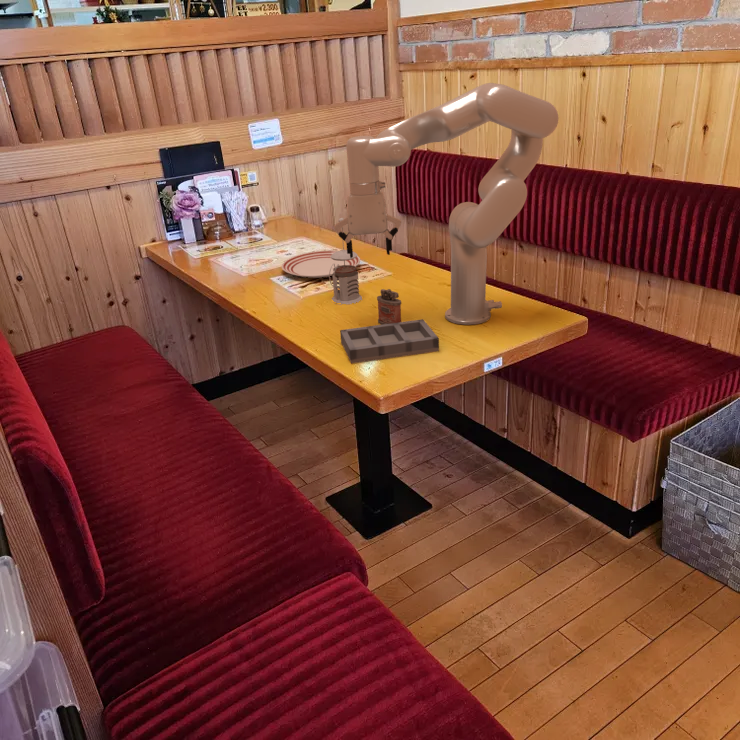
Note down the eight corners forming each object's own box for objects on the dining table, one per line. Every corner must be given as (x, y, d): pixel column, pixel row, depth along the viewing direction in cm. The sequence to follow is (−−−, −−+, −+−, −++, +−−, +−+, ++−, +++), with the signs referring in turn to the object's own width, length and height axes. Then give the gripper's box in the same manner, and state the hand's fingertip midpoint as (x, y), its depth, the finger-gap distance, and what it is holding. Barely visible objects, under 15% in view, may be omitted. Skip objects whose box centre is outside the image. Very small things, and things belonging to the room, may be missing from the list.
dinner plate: (325, 288, 217) (325, 278, 215) (265, 275, 232) (264, 266, 231) (376, 265, 236) (376, 256, 235) (318, 255, 251) (317, 246, 250)
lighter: (375, 322, 187) (373, 288, 183) (383, 319, 189) (382, 285, 185) (396, 329, 182) (395, 295, 177) (404, 326, 184) (403, 291, 180)
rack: (423, 331, 180) (423, 319, 178) (438, 351, 168) (438, 338, 167) (341, 342, 176) (340, 330, 174) (351, 363, 164) (350, 350, 163)
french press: (369, 296, 207) (364, 215, 196) (346, 308, 198) (341, 224, 187) (343, 291, 212) (338, 212, 201) (320, 303, 204) (313, 221, 193)
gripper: (398, 182, 171) (401, 248, 179) (330, 188, 171) (337, 253, 179) (400, 188, 164) (403, 256, 172) (330, 194, 164) (336, 261, 172)
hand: (369, 254), depth 175 cm, fingers open, 9 cm apart
